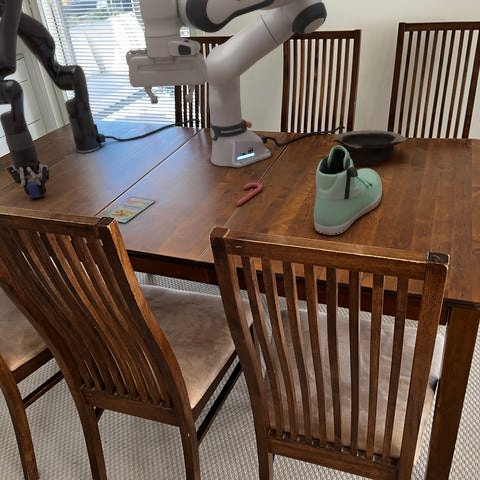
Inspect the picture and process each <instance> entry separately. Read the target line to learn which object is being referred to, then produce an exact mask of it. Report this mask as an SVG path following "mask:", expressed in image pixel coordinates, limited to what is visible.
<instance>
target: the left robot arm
mask: <svg viewBox="0 0 480 480" xmlns="http://www.w3.org/2000/svg"><path fill="white" fill-rule="evenodd" d="M23 2H24V0H0V106H5V105H7V106H8V105H10V110H7V111H4V112H2V113H1V114H0V124H1V127H2V130H3V134H4V136H5V137H4V138H5V141H6V145H7V148H8V150H9V154H10V157H11V159H12V160H11V161H12V162H13V164H10V165H9V166H8V167H6V170H7V171H8V173H9V175H10V176H11V178H12V179H13V181H14V182H15V183H16V184H18V185H19V184H20V185H22V187H23V189H24V193H25V194H26V195H27V196H30V194H29V191H28V188H27V185H26V184H27V183H28V182H29V176H30V177H32V179H33V180H36V182H37V183H38V188H39V191H40V194H41V195H42V196H44V195H45V194H46V193H47V188H46V183H47V182H48V181H50V165H49V163H46V164H44V163H41V162H40V161H39V158H38V153H37V149H36V146H35V142H34V140H33V136H32V134H31V132H30V129H29V127H28V126H29V125H28V123H27V120H26V116H25V95H24V88H23V87H22V85H21V84H20V82H19V81H18V80H16V79H14V78H13V79H12V78H11V79H10V78H8V79H5V78H7V77H9V76H12V75H15V74H16V72H17V68H18V67H17V62H18V61H17V41H18V39H20V41H21V42H22V44H23V45H24V46H25V47H26V49H28V51H29V52H30V53H31V54H32V55H33V57H34V58H35V59H36V60H37V61H38V63H39V64H40V65H41V66H42V68H43V69H44V70H45V72H46V74H47V75H48V77H49V79H51V81H52V82H53V85H55V87H56V88H57V89H58V90H60V91H64V92H71V91H72V92H73V91H74V96H73V97H71V98H69V99H67V100H65V102H64V106H65V110H66V114H67V115H66V116H67V118H68V122H69V126H70V130H71V133H72V137H73V142H74V145H75V148H76V149H75V150H76V152H77V153H80V154H87V153H92V152H96V151H97V150H99V149H100V148H102V144H103V143H106V142H107V140H106V139H113V140H114V141H117V142H129V141H134V140H137V139H142V138H144V137H148V136H150V135H152V134H155V133H158V132H160V131H163V130H165V129H167V128H170V127H174V126H180V125H185V124H188V123H191V122H197V123H201V122H202V121H201V120H199V119H197V118H189V119H187V120H184V121H181V122H179V121H178V122H175V123H171V124H168V125H163V126H161V127H159V128H157V129H154V130H152V131H149V132H147V133H145V134H141V135H138V136H133V137H129V138H117V137H115V136H113V135H105V134H103V133H100V132H99V129H98V125H97V123H95V121H94V116H93V113H92V108H91V104H90V95H89V89H88V84H87V79H86V74H85V70H84V69H83V67H82V66H81V65H78V64H66V65H63V64H60V63H59V62H58V61H57V59H56V51H57V50H56V49H57V48H56V47H57V46H56V41H55V39H54V37H53V35H52V34H51V33H50V31H49V30H48V29H47V27H46V26H45V25H44V24H43V22H41V21H39V20H38V19H36V18H35V17H33V16H32V15H29V14H27V13H25V12H24V11H23V10H22V8H23Z"/></svg>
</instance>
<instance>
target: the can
mask: <svg viewBox="0 0 480 480" xmlns="http://www.w3.org/2000/svg"><path fill="white" fill-rule="evenodd" d="M26 185H27V188H28V191H29V194H30V195H29V197H30V198H31V199H37V198H38V199H39V198H41V197H42V196H43V195H41V194H40V191H39V188H38V183H37V182H36V180H35V179H33V180H29V181H28V183H27V184H26Z"/></svg>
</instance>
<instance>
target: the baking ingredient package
mask: <svg viewBox="0 0 480 480" xmlns="http://www.w3.org/2000/svg"><path fill="white" fill-rule="evenodd" d="M153 203H155V201H154V200H150V199H145V198H137V197H130V198H129V199H128V200H125V201H123V203H122V204H120V205H119V206H117V207H115V208H114V209H112V210H111V211H110V212H108V213H107V214H105V215H104V216H106V217H114V218H115V219H116V220H117V221H116V222H120V223H127V222H129V221H130V220H131V219H132V218H134V217H135V216H137V215H138V214H140V213H141V212H142V211H143V210H145V209H146V208H148V207H149V206H150V205H152V204H153Z"/></svg>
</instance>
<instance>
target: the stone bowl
mask: <svg viewBox="0 0 480 480" xmlns="http://www.w3.org/2000/svg"><path fill="white" fill-rule="evenodd" d="M332 141H333V142H335V143H337V144H340V145H341V146H342V147H344V148H345V149H346V150H347V152H348V153H349V156H350V159H352V161H353V165H355V166H357V165H360V166H369V165H377V164H380V163H381V162H382V160H391V159H392V158H393V156H394V151H395V146H397V145H400V144H403V143H404V142H406V141H407V137H405V136H404V135H402V134H400V133H397V132H393V131H387V130H386V131H385V130H352V131H351V130H350V131H345V132H342V133H337V134H336V135H334V136H333V140H332Z"/></svg>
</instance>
